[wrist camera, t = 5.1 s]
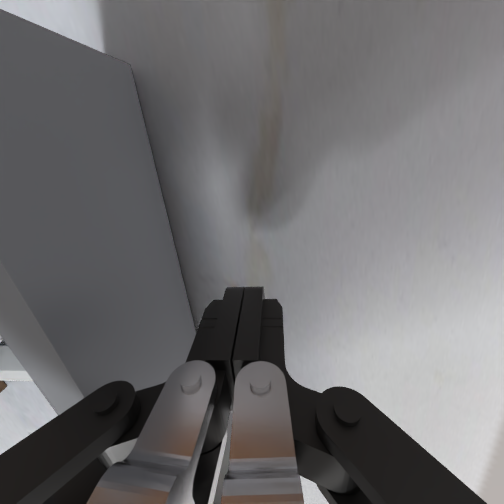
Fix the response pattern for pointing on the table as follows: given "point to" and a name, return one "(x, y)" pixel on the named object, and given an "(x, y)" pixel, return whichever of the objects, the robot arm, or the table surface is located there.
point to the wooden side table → (2, 386)
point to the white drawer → (81, 225)
